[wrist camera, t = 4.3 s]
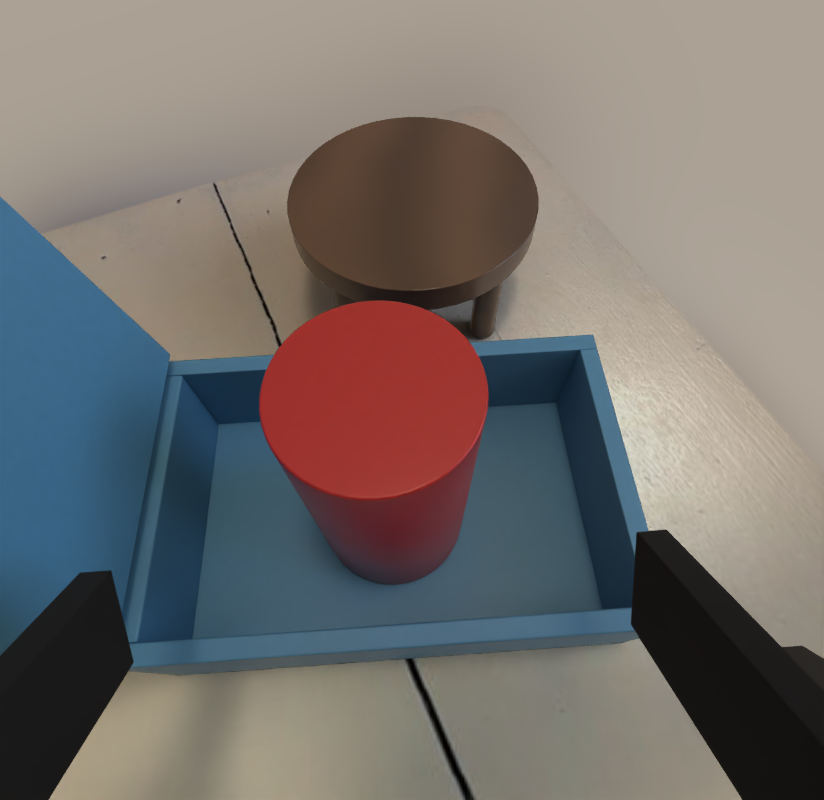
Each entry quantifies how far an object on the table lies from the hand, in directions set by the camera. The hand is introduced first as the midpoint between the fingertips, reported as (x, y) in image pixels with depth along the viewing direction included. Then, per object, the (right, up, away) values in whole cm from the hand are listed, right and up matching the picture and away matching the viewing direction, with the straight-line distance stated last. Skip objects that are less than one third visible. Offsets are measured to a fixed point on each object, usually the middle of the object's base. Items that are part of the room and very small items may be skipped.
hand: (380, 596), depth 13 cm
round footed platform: (+1, +12, +20) cm, 24 cm away
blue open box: (0, -1, +13) cm, 13 cm away
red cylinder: (0, -1, +12) cm, 12 cm away
